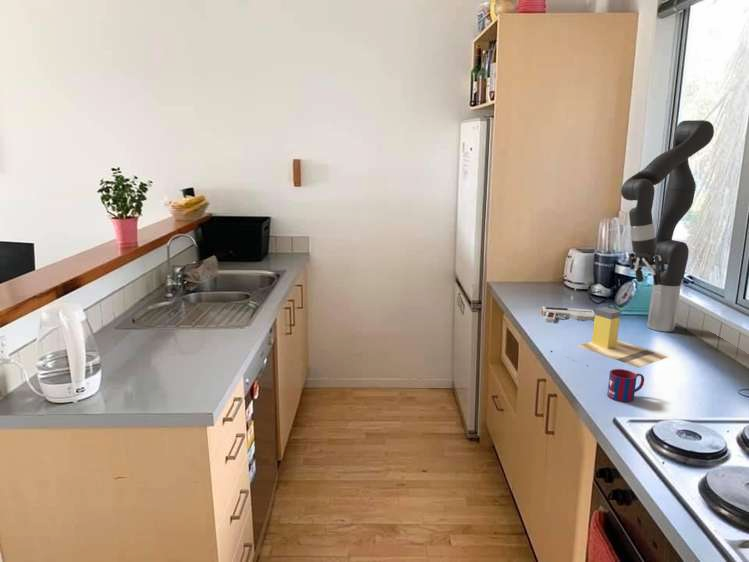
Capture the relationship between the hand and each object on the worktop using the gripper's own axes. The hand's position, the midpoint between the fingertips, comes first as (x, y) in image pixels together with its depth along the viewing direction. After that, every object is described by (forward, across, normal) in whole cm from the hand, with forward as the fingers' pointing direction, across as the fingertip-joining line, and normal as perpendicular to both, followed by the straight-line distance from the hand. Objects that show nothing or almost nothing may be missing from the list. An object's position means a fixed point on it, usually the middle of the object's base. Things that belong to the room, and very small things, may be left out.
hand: (648, 283), depth 204 cm
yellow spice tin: (+15, -4, +23) cm, 28 cm away
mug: (+17, -39, +42) cm, 60 cm away
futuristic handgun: (+15, +28, +16) cm, 35 cm away
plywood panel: (+17, -11, +22) cm, 30 cm away
